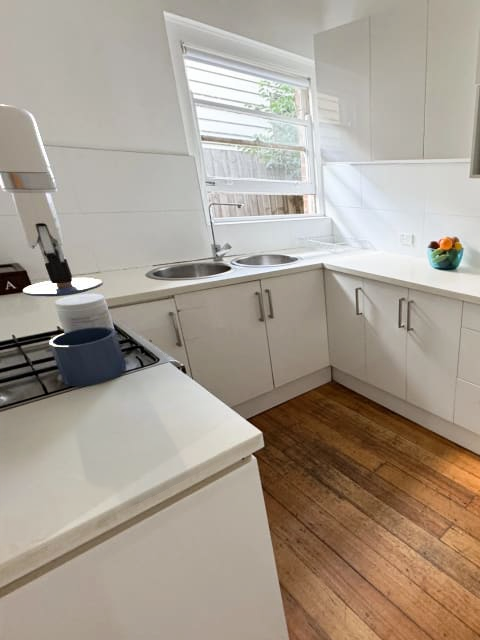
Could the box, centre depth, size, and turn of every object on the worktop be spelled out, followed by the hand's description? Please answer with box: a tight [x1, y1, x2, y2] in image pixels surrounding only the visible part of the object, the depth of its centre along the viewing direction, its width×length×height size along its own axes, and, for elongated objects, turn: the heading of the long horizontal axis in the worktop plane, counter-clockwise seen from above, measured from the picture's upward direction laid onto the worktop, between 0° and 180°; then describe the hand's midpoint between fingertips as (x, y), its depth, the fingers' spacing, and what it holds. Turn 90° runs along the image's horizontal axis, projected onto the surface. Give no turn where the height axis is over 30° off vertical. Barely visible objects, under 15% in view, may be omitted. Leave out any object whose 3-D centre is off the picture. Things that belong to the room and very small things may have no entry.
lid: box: [22, 277, 104, 298], centre depth 77 cm, size 12×12×7 cm
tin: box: [48, 327, 127, 387], centre depth 86 cm, size 11×11×10 cm
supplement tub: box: [54, 293, 115, 333], centre depth 95 cm, size 10×10×15 cm
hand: (62, 280), depth 77 cm, fingers closed on lid, 2 cm apart
